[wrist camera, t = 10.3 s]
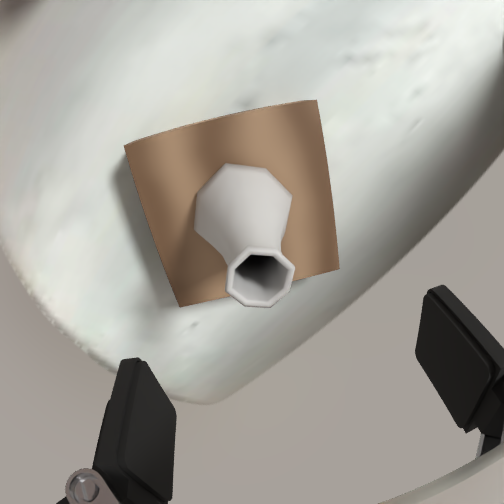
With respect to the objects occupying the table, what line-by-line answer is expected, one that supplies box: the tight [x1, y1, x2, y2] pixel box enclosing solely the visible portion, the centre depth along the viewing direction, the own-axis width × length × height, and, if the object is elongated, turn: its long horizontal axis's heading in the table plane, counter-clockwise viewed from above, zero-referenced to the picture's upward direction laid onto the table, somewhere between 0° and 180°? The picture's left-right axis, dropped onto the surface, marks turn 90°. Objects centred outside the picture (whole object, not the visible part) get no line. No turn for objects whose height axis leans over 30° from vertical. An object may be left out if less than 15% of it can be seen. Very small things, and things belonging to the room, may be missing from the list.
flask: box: [194, 163, 295, 308], centre depth 19 cm, size 7×7×10 cm
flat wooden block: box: [124, 100, 339, 307], centre depth 25 cm, size 14×14×4 cm
